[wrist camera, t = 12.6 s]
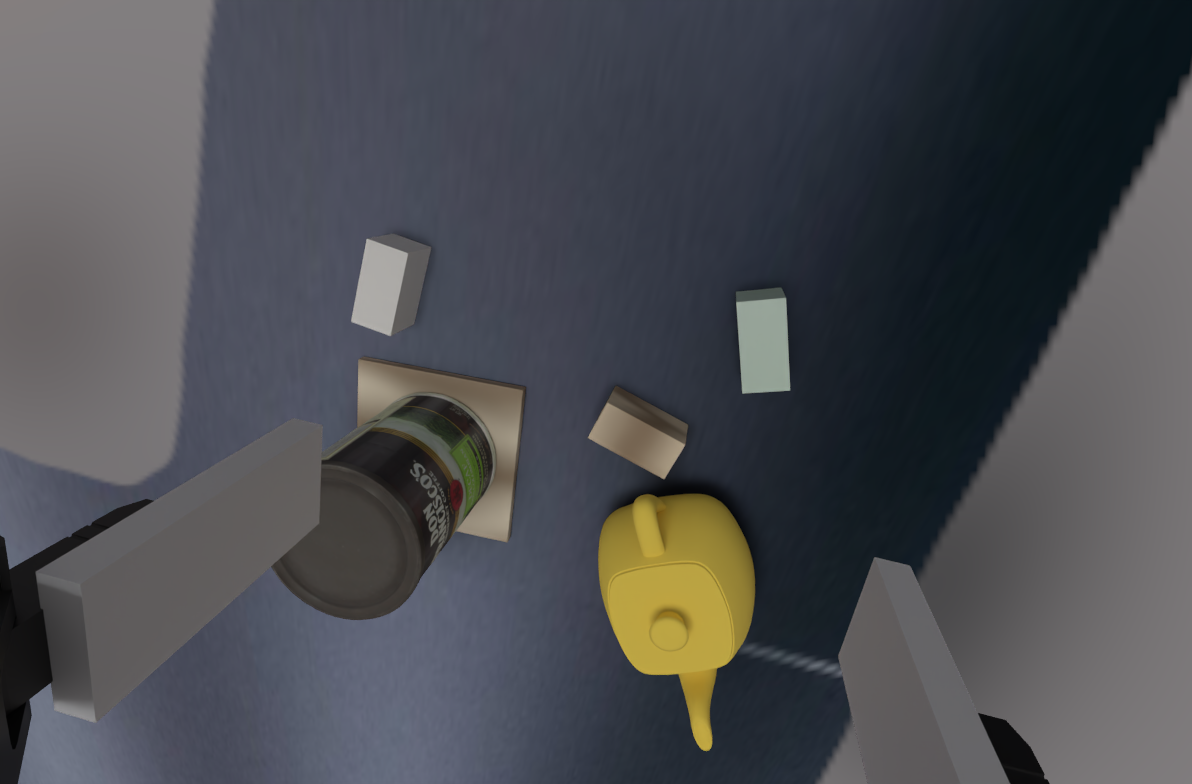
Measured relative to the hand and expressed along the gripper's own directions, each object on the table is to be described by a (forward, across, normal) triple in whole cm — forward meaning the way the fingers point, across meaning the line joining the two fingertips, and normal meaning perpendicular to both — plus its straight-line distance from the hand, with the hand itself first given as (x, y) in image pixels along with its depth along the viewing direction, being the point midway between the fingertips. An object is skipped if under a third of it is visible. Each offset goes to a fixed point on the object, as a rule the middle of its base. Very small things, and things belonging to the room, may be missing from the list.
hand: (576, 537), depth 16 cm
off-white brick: (+33, -20, -3) cm, 39 cm away
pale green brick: (+33, +6, -2) cm, 34 cm away
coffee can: (+32, -16, -16) cm, 39 cm away
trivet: (+33, -16, -16) cm, 40 cm away
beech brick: (+33, 0, -10) cm, 35 cm away
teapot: (+33, +5, -20) cm, 39 cm away
